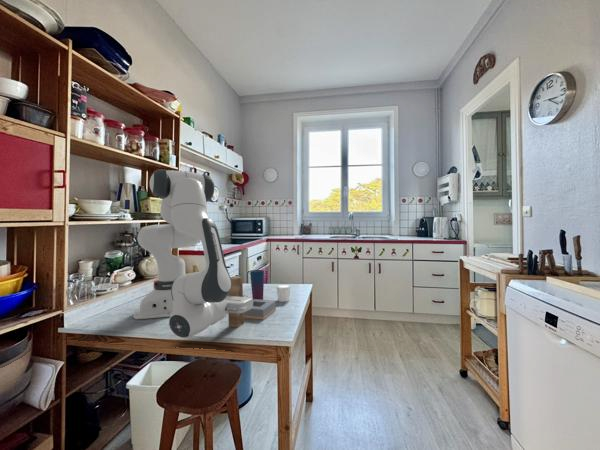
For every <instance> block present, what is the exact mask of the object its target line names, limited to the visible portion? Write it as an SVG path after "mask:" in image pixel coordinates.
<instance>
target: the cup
mask: <svg viewBox="0 0 600 450" xmlns="http://www.w3.org/2000/svg"><path fill="white" fill-rule="evenodd" d="M249 275H250V285H251V287H250V288H251V295H252V297H251V298H252V299H259V300H264V287H265V286H264V285H265V282H264V281H265V280H264V279H265V269H252V270H249Z"/></svg>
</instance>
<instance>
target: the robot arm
mask: <svg viewBox="0 0 600 450" xmlns="http://www.w3.org/2000/svg"><path fill="white" fill-rule="evenodd" d="M215 187H216V186H215V181H214V179H213V178H212V176H210V175H207V174H204V173H203V174H200V173H197V172H191V171H187V170H185V171H183V170H171V169H170V170H169V169H168V170H167V169H166V168H162V169H156V170H154V172H152V174H151V176H150V179H149V188H150V190H151V194H152V195H153V196H154V197H155V198H159V199H161V202H160V203H161V204H160V205H161V206H160V211H159V214H160V216H161V218H162V220H164V222H166V223H167V224H166V223H165V224H152V225H146V226H143V227H142V228H140V230H139V231H138V233H137V242H138V245H139V246H140V247H141V248H142V249H144V250H145V251H147V252H148V253H149V254H151V255H152V256H153V258H154V260H155V261H156V265H157V272H158V273H157V274H158V276H157V277H158V279H154V280H153V289H152V290H151V291H150V292H149V293H148V294H147V295H145V296H144V297H143V298H142V299H141V301H140V303H139V308H138V309H136V311H135V312H134V313H133V317H132V318H133V319H134V320H146V319H147V320H148V319H156V318H168V317H169V319H168V326H169V329H170V330H171V332H172V333H173V334H174V335H176V336H178V337H179V338H191V337H193V336H195V335H197V334H200V333H201V332H203V331H205V330H206V329H208V328H209V327H210V326H213V325H215V324H217V323H218V322H220V321H222V320H224V319H225V317H227V315H228V313H243V312H246V311H248V310H250V309H252V308H253V298H252V297H250V296H249V295H245V294H243V296H242V297H237V296H228V294H229V292H230V290H231V286H232V282H231V276H230V273H229V270H228V267H227V264H226V260H225V257H224V255H225V254H224V251H223V247H222V243H221V237H220V234H219V231H218V227H217V225H216V223H215V221H213V220H212V219H210V217H209V215H208V209H207V208H208V207H207V206H208V205H207V202H209V201H211V199H212V198H213V197H214V194H215V190H216V188H215ZM199 242H201V245H202V250H203V254H204V260H205V269H204V270H199V271H196V272H189V273H186V262H185V260H184V258H182V257H180V256H178V255H174V254H172V252H171V249H179V248H180V249H181V248H182V249H183V248H188V247H189V248H190V247H193V246H197V245H198V244H199Z"/></svg>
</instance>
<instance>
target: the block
mask: <svg viewBox="0 0 600 450" xmlns="http://www.w3.org/2000/svg"><path fill="white" fill-rule="evenodd" d="M230 278H231V282H232V286H231V290H230V292H229V294H228V296H237V297H242V296H244V293H243V289H244V288H243V287H244V286H243V276H230ZM227 315H228V326H229V327H232V328H239V327H241V326H242V325H243V324H245V323H244V322H245V318H244V315H243V313H227Z"/></svg>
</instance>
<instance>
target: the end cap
mask: <svg viewBox="0 0 600 450" xmlns="http://www.w3.org/2000/svg"><path fill="white" fill-rule="evenodd" d="M252 299H253V298H252ZM276 303H277V301H276V300H270V299H263V300H259V299H253V308H252V309H250V310H248V311H246V312H243V315H244V319H253V320H255V319H256V320H265V319H267V318H268V317H269V316H270V315H271V314H273V313H274V312H275V311H276V310H277V306H276V305H277V304H276Z"/></svg>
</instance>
